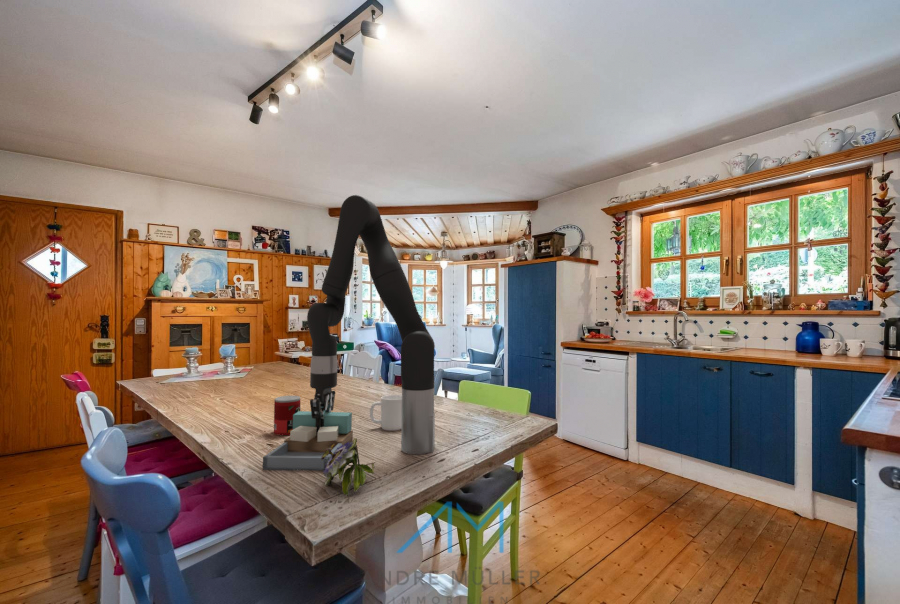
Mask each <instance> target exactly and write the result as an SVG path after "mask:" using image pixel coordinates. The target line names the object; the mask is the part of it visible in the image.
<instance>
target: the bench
mask: <svg viewBox="0 0 900 604" xmlns="http://www.w3.org/2000/svg"><path fill="white" fill-rule="evenodd" d="M353 437H354V436H353V429H352V430H351V431H350V432H349V433H347V434H340V433H339V435H338V438H337V440H335V441H321V442H318V433H316V437H314V438H312V439H311V440H309V441H308V442H304V441H293V440H290V436H289V437H287V438H286V439H284V440H283V443H284V442H288V452H326V449H328V448H329V447H330V446H331V445H333V444H335V445H334V447H335V446H336V445H337V444H338V443H342V445H343V444H345V443H347V442H350V443H352V442H353V440H354V438H353ZM334 447H333V448H334ZM333 448H332V449H333Z"/></svg>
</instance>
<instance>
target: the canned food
mask: <svg viewBox="0 0 900 604" xmlns="http://www.w3.org/2000/svg"><path fill="white" fill-rule="evenodd" d="M273 403H274V404H273V405H274V406H273V407H274V408H273V409H274V411H273V432H274V434H275V435H276V436H280V435H281V436H283V437H284V435H286V436H290V431H291V430H293V415H294V414H295V413H297V412H299V411H301V396H298V395H281V396H277V397H276V398H274V402H273Z"/></svg>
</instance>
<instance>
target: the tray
mask: <svg viewBox="0 0 900 604" xmlns="http://www.w3.org/2000/svg"><path fill="white" fill-rule="evenodd" d="M340 446H342V443H338V444H337V445H336V446H335V447H334V448H333V449H332V450H331V452H332V453H333V454H334V453H336V451H337V447H338V448H339V447H340ZM324 453H325V452H288V442H284V441H283V442H282V443H281V444H280V445H279V446H277V447H275V448H274V449H273V450H271V451H270V452H268V453H267V454H265V455H264V456H263V458H262V470H263V471H264V470H265V471H270V470H271V471H308V472H309V471H314V472H316V471H317V472H318V471H319V472H321V471H322V472H324V470H325V469H326V467H325V465H326V464H327V463H328V461H329V460H330V459H331V456H332V455H331V454H328V455H327V456H326V457H325V458H324V459H321V458H322V455H323V454H324Z"/></svg>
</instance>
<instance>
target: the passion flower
mask: <svg viewBox="0 0 900 604" xmlns="http://www.w3.org/2000/svg"><path fill="white" fill-rule="evenodd" d="M357 441H358V438H353V442H352V443H350V442H347V443H345V444H343V445H342V446H340V447H339V448H338V447H337V451H336V453H334V454H333V453H332V452H331V450H332V448H333V447H334V445H335V444H333V445H331V446H330V447H329V448H328V449H326V452H325V453H324V454H323V455H322V458H321V459H324V458H325V457H326V456H327V455H328V454H331V455H332V456H331V459H330V460H329V461H328V463H327V464H326V465H325V467H326V469H325V470H324V471H323V476H324V477H325V478H326V481H325V482H324V486H325V487H327V486H330V485H332V483H333V482H332V481H333V480H334V479H335V477H336V476H338V479H339V481H341V485H342V489H341V490H342V494H343V495H345V496H346V497H349V491H350V489H351V486H352V483H353V492H354V493H355V492H357V491H358V490H359V488H360V487H362V486H364V484H365V482H366V480H367V474H366V473H368V474H374V473H375V464H376V462H370V463H367V464H364V463H360V457H359V450H358V445H357ZM369 465H371V466H369ZM347 466H348V468H347ZM352 476H353V477H352ZM352 478H353V481H352Z"/></svg>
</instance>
